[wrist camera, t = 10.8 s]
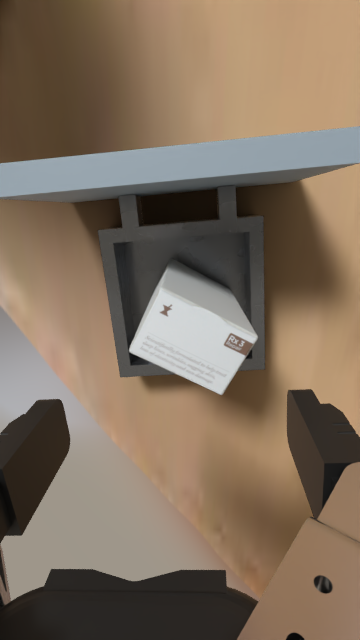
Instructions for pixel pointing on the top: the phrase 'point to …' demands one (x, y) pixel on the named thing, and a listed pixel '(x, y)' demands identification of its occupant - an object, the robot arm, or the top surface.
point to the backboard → (181, 167)
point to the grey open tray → (190, 250)
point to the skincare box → (194, 329)
